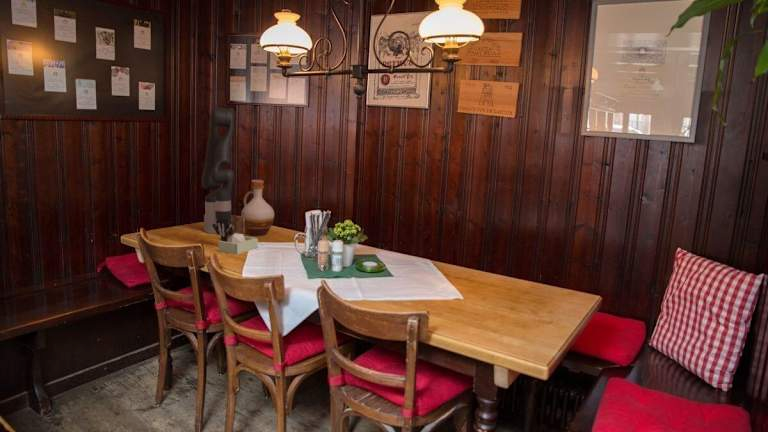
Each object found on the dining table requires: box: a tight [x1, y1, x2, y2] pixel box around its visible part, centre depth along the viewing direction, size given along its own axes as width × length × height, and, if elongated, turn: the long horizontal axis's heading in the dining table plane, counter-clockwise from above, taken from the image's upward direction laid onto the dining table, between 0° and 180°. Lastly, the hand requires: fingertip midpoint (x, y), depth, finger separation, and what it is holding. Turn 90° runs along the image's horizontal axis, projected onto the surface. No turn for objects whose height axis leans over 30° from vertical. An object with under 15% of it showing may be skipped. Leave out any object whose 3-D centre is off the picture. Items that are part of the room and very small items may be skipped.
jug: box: [240, 179, 275, 237], centre depth 315 cm, size 20×18×30 cm
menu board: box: [227, 214, 246, 242], centre depth 295 cm, size 12×5×14 cm, turn 65°
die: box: [227, 233, 246, 243], centre depth 282 cm, size 8×9×10 cm
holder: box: [217, 235, 259, 255], centre depth 281 cm, size 12×15×5 cm
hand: (223, 243), depth 286 cm, fingers closed
